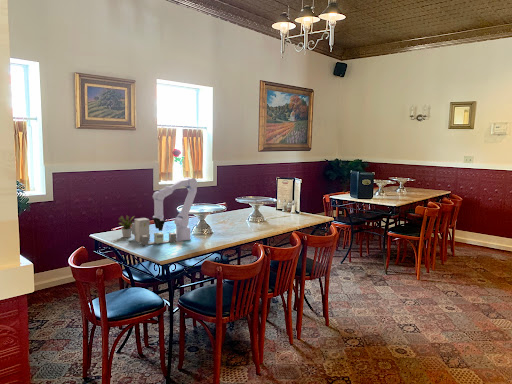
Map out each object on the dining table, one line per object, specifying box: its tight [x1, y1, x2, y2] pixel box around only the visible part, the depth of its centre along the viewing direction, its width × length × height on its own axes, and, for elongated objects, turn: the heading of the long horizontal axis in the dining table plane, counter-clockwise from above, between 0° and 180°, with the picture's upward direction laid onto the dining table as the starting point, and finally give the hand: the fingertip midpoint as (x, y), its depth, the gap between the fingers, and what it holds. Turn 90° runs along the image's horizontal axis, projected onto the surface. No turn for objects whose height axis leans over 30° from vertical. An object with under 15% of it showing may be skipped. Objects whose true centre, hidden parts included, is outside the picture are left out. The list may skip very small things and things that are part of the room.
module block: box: [153, 231, 164, 243], centre depth 260 cm, size 5×5×6 cm
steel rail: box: [139, 239, 178, 247], centre depth 260 cm, size 24×4×1 cm, turn 119°
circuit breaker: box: [131, 217, 151, 244], centre depth 268 cm, size 8×14×15 cm, turn 41°
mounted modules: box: [140, 232, 176, 246], centre depth 260 cm, size 22×5×5 cm, turn 119°
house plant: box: [118, 215, 135, 238], centre depth 274 cm, size 14×14×16 cm
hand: (158, 229), depth 259 cm, fingers open, 7 cm apart
